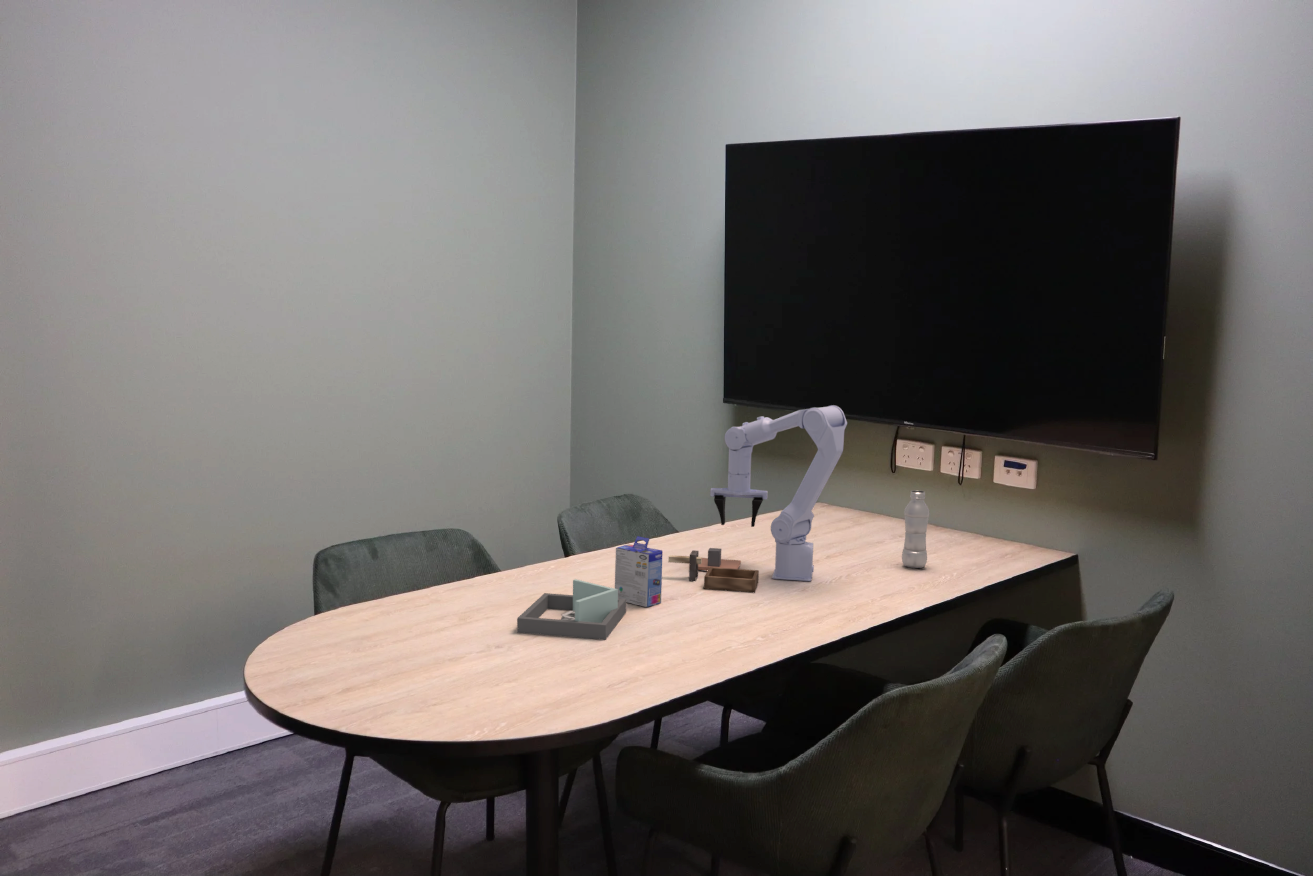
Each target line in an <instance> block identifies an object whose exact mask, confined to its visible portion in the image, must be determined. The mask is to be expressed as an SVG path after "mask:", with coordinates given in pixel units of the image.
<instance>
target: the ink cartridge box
mask: <svg viewBox="0 0 1313 876" xmlns="http://www.w3.org/2000/svg"><path fill="white" fill-rule="evenodd" d="M639 541H643V542H645V543H640V542H639ZM649 542H650V538H648V537H642V536H638V535H636V538H635V540H634V543H633V544H623V545H621V546H617V547H615V564H614V565H615V566H614V589H618V599H626V603H628V604H632V605H636V606H640V607H641V606H642V607H645V608H648V607H651V606H655V605H659V604H661V603H662V589H663V588H662V586H663V585H662V584H663V583H662V582H663V581H662V579H663V550H662V549H658V548H657V549H656V548H651V547H648V546H649Z"/></svg>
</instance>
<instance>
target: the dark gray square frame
mask: <svg viewBox="0 0 1313 876" xmlns="http://www.w3.org/2000/svg"><path fill="white" fill-rule="evenodd" d="M548 609H552V610H566V611H573V594H561V593H560V594H559V593H551V592H550V593H547V592H544V593H543V594H542V595H541V596H539V598H537V599H536V600H535V601H534V602H533V603H531V604H530V606H529V607H528V608H526V609H525V610H524V611H523V612H522V613H521V614H520V615H519V616H518V617H517V618H516V621H517V622H516V624H517V625H516V632H517V633H518V634H532V635H544V636H554V637H555V636H556V637H565V638H568V637H569V638H579V639H590V640H591V639H592V640H604V641H606V640H607V639H608V637H609V636H610V635H611V633H612V632H613V631H614V629H615V628H616V626H617V625H618V624H619V623H620V621H621V620H622V618H623V617H624V616H625V615H626V614H627V602H626V599H618V608H617V609H614V610H611V612H610V613H609V614H608V615H607V617H606V618H605V619H604V620H603V622H602V623H596V622H583V621H579V622H578V621H571V620H561V619H558V618H557V619H556V618H554V619H553V618H546V617H545V618H544V617H543V618H542V617H541V616H542V615H543V614H544V613H545V612H546V611H547V610H548Z"/></svg>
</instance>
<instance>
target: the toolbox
mask: <svg viewBox="0 0 1313 876" xmlns="http://www.w3.org/2000/svg"><path fill="white" fill-rule="evenodd" d="M699 553H700V552H699V550H691V551H690V554H689V556H690V563H689V566H688V567H689V570H688V573H689V575H688V581H689V582H693V581H695V582H696V581H697V579H698V577H699V570H698V564H696V557H699ZM759 574H760V570H758V569H747V568H746V569H743V568H738V569H731V568H716V567H709V569H708V571H706V573H705V574H704V577H703V590H713V591H725V590H727V591H726V592H739V591H741V592H742V593H753V592H754V593H756V590H757V588H758V586H759V585H758V584H759V581H760V580H759V578H760V577H759ZM741 592H740V593H741ZM754 593H753V594H754Z"/></svg>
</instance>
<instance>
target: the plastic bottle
mask: <svg viewBox="0 0 1313 876" xmlns="http://www.w3.org/2000/svg"><path fill="white" fill-rule="evenodd" d="M909 498H910V500H909V502H908V503H907V505H905V508H904V510H903V515H904V525H905V528H904V529H905V530H904V531H905V533H904V541H903V542H904V543H903V549H902V552H901V562H902V564H903V566H905V567H907V568H912V569H919V568H920V569H921V568H924V567H925V566H926V565H927V563H928V562H927V560H928V554H927V553H928V552H927V538H926V537H927V531H928V525H929V524H928V523H929V520H930V509H929V506H928V505H927V504H926V501H925V499H926V491H925V490H916V489H913V490H910V496H909Z"/></svg>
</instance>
